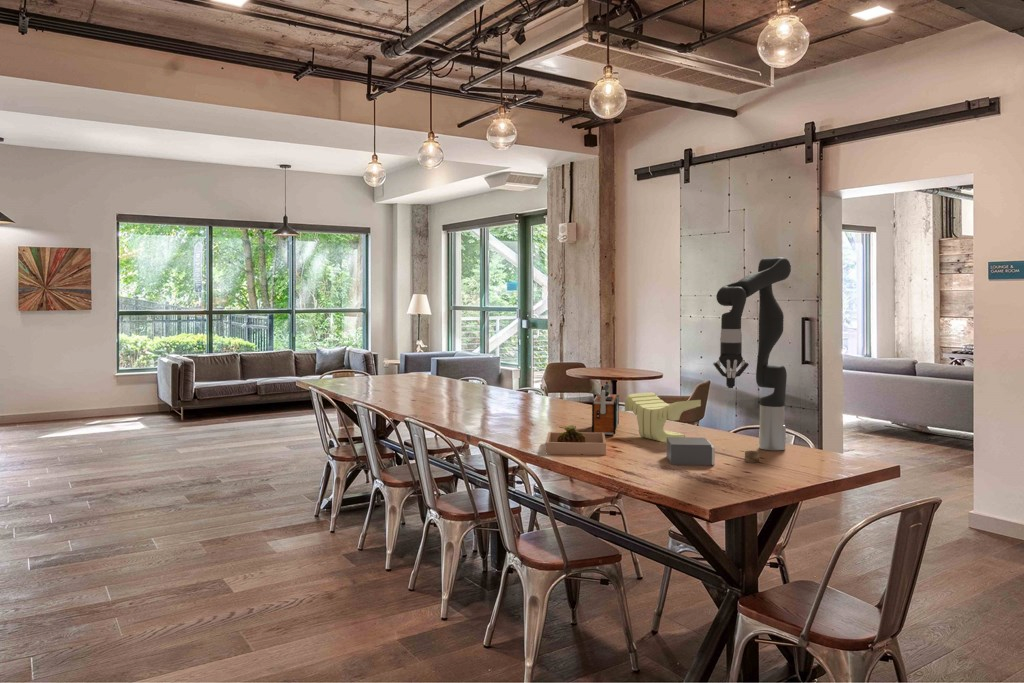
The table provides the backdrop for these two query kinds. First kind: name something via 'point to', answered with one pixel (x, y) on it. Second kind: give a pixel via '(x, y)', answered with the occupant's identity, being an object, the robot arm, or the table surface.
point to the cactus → (571, 435)
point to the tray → (712, 454)
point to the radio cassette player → (605, 412)
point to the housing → (688, 451)
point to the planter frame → (577, 444)
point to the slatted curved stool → (656, 414)
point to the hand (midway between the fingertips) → (730, 387)
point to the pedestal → (752, 456)
